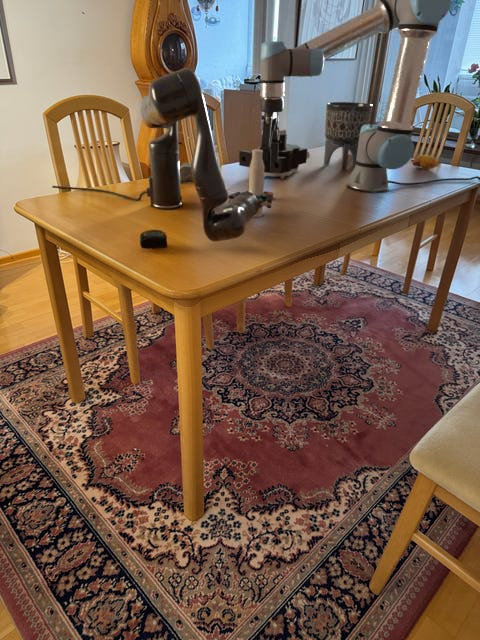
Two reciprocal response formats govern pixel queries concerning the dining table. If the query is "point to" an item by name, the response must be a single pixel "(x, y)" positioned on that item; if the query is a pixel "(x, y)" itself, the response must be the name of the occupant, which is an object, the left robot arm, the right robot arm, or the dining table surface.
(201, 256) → the dining table surface
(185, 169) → the rock
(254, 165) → the bottle
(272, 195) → the cap
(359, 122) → the planter
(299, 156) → the mechanical component
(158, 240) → the tape measure
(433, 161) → the toy
